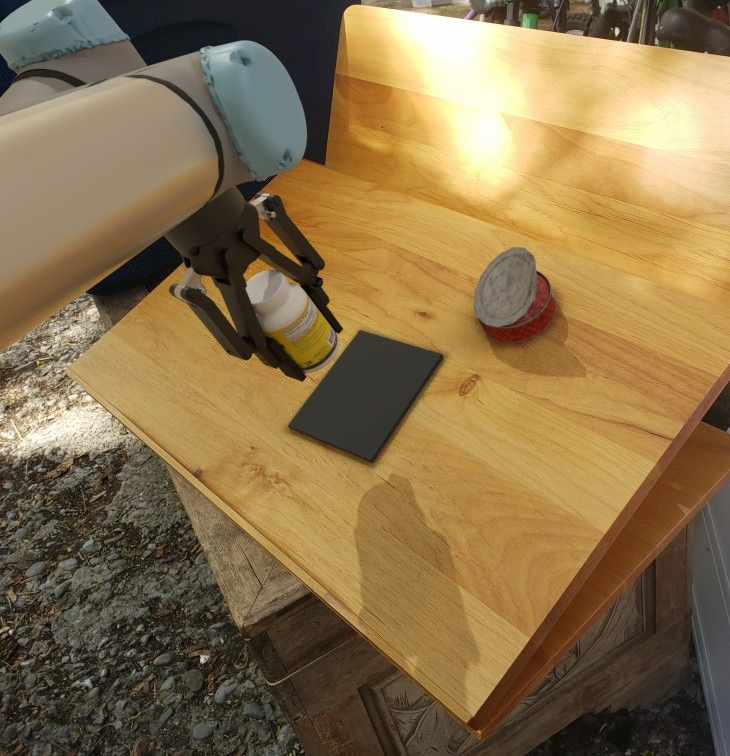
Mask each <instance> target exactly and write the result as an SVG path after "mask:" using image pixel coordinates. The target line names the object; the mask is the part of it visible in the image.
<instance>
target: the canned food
mask: <svg viewBox="0 0 730 756" xmlns="http://www.w3.org/2000/svg"><path fill="white" fill-rule="evenodd" d="M473 311H474V314H475V316H476V317H477V320H478V322H479V324H480V326H481V329H482V331H483V332H484V334H485V335H486V336H487V337H489V338H490V339H491V340H493V341H496V342H498V343H502V344H517V343H522V342H526V341H528V340H531V339H533V338H535V337H537V336H538V335H540V334H542V333H543V332H544V331H545V330H546V329H547V328H548V327H549V326H550V325H551V323H552V321H553V320H554V318H555V315H556V312H557V301H556V297H555V296H554V293H553V290H552V285H551V283H550V280H549V278H548V277H547V276H546V275H545V274H543V272H540V271H538V270H537V260H536V259H535V256H534V254H533V253H531V252H530V251H529V249H527V248H526V247H520V246H512V247H511V248H509V249H506V250H504V251H502V252H500V253H499V254H498V255H497V256H496V257H495V258H494V259H493V260H491V261H490V262H489V263H488V265H487V266H486V268H485V269H484V271H483V272H482V273H481V274H480V276H479V279H478V282H477V284H476V287H475V290H474V300H473Z"/></svg>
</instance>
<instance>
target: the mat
mask: <svg viewBox="0 0 730 756" xmlns="http://www.w3.org/2000/svg"><path fill="white" fill-rule="evenodd" d="M443 359H444V355H443V353H440V352H437V351H434V350H430V349H426V348H423V347H419V346H416V345H413V344H411V343H410V344H409V343H405V342H402V341H399V340H395V339H392V338H390V337H389V338H388V337H385V336H382V335H379V334H375V333H372V332H368V331H365V330H361V329H359V330H358V331H357V333H356V334H355V335H354V337H353V338H352V339H351V341H350V342H349V343H348V344H347V346H346V347H345V349H344V350H343V351H342V353H340V355H339V356H338V358H337V359H336V361H335V362H334V363H333V365H332V366H331V368H329V370H328V371H327V373H326V374H325V375H324V376H323V378H322V379H321V380H320V382H319V384H317V386H316V387H315V388H314V389H313V392H312V393H311V394H310V395H309V397H307V399H306V401H304V403H303V404H302V406H301V407H300V409H299V410H298V411H297V413H296V414H295V415H294V416H293V418H292V419H291V420H290V421H289V423H288V424H287V427H288V428H289V429H290V430H292V431H296V432H298V433H299V434H302V435H305V436H308V437H310V438H312V439H315V440H317V441H319V442H322V443H324V444H326V445H329V446H331V447H333V448H336V449H338V450H341V451H343V452H344V453H345V452H346V453H348V454H351V455H353V456H354V457H358V458H360V459H362V460H364V461H367V462H369V463H374V462H375V460H376V458H377V457H378V455H379V454H380V452H382V450H383V448H384V447H385V445H386V443H387V442H388V441H389V439H390V438H391V436H392V434H393V433H394V431H395V430H396V429H397V427H398V426H399V424H400V423H401V421H402V419H403V418H404V417H405V415H406V414H407V412H408V411H409V409H410V408H411V406H412V405H413V403H414V402H415V400H416V399H417V397H418V396H419V394H420V393H421V391H422V390H423V388H424V387H425V386H426V384H427V382H428V381H429V380H430V378H431V376H432V375H433V374H434V372H435V371H436V369H437V367H438V366H439V364H440V363H441V361H442V360H443Z"/></svg>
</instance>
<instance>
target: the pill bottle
mask: <svg viewBox="0 0 730 756" xmlns="http://www.w3.org/2000/svg"><path fill="white" fill-rule="evenodd" d="M246 283H247V287H246V291H247V293H248V296H249V298H250V301H251V303H252V306H253V308H254V311H255V314H256V316H257V319H258V321H259V324H260V326H261V329H262V331H263V334H264V336H266V337H269V338H272V339H275V340H276V341H277V343H278V344H279V345H280V346H281V347H282V348H283V350H284V351H285V352H286V353H287V354H288V355H289V357H290V358H291V359H292V360H293V361H294V362H295V363H296V365H297V366H298V367H299V368H300V369H301V370H302V372H303V373H304V374H305V375H307V374H312V373H316V372H318V371H320V370H322V369H324V368H326V367H327V366H328V365H329V364H331V362H333V361H334V360H335V358H336V357H337V355H338V353H339V350H340V344H341V343H340V338H339V336H338V333H335V331H334V330H333V328H332V327H331V326H330V324H329V323H328V322H327V320H326V319H325V318H324V316H323V315H322V314H321V312H320V311H319V310H318V308H317V307H316V306H315V304H314V303H313V302H312V300H311V299H310V298H309V296H308V295H307V294H306V292H305V291H304V290H303V289H302V288H301V287H300V285H299V284H297V283H295V282H294V283H293V282H289V281H288V279H287V278H286V277H285V275H283V274H282V273H281V272H279V271H277V270H275V269H266V270H263V271H260V272H258V273H256V274H255V275H252V276H251V277H250V278H249V279H248V280H246ZM298 285H299V286H298Z"/></svg>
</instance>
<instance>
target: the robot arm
mask: <svg viewBox="0 0 730 756" xmlns="http://www.w3.org/2000/svg"><path fill="white" fill-rule="evenodd" d="M0 55H1V56H2V57H3V59H4V60H5V61H6V63H7V67H8V68H9V69H10V70H11V71H12V72H15V73H16V74H17V75H16V76H15V77H14V78H13V80H12V81H11V84H10V86H9V88H7V90H5V92H4V93H3V94H2V95H1V97H0V355H1V354H2V353H3V352H5V351H6V350H8V349H9V348H11V347H12V346H13V345H15V344H16V343H17V342H19V341H20V340H21V339H23V338H24V337H26V336H27V335H29V334H30V333H31V332H33V331H34V330H35V329H37V328H38V327H39V326H41V325H42V324H43V323H45V322H46V321H47V320H49V319H50V318H52V317H53V316H54V315H56V314H57V313H58V312H60V311H62V310H63V309H64V308H65V307H67V306H68V305H70V304H71V303H72V302H73V301H75V300H77V299H78V298H80V297H81V296H82V295H83V294H85V293H86V292H88V290H90V289H92V288H93V287H94V286H96V285H97V284H98V283H100V282H101V281H102V280H104V279H105V278H108V277H109V275H111V274H113V273H114V272H115V271H116V270H118V269H119V268H121V267H122V266H123V265H125V264H126V263H128V261H130V260H131V259H133V258H134V257H135V256H137V255H139V254H140V253H141V252H142V251H144V250H145V249H147V248H148V247H150V245H152V244H154V243H155V242H156V241H158V240H159V239H161V238H162V237H164V238H165V239H166V240H167V241H168V242H169V243H170V245H172V246H173V247H174V248H175V250H177V252H179V254H180V256H181V258H182V261H183V265H184V267H185V269H186V270H185V272H184V274H183V276H182V277H181V279H180V281H179V282H178V283H177V282H174V283H171V285H170V286H169V288H168V292H169V294H170V296H172V297H174V298H175V299H177V300H178V301H181V302H183V303H184V304H185V305H187V306H188V308H190V310H191V311H192V312H193V314H195V316H196V317H197V318H198V320H199V321H200V322H201V323H202V325H204V327H205V328H206V329H207V330H208V332H209V333H210V334H211V336H212V337H213V338H214V339H215V340H216V342H217V343H218V344H219V345H220V347H221V348H222V349H223V350H224V351H225V352H226V354H228V355H229V356H231V357H234V358H237V359H239V360H243V361H250V360H251V359H252V357H253V355H254V356H256V358H257V359H258V360H259V361H260V362H261V363H262V364H263V365H264V366H267V367H269V368H271V369H276V370H277V369H279V370H280V371H281V373H283V375H284V376H285V377H287V378H289V379H293V380H296V381H299V382H301V383H304V381H305V380H306V378H307V377H308V375H307V374H304V373H303V372H302V370H301V369H300V368H299V367H298V366H297V365H296V363H295V362H294V361H293V360H292V359H291V358H290V357H289V355H288V354H287V353H286V352H285V351H284V350H283V348H282V347H281V346H280V345H279V344H278V343H277V341H276V340H275V339H272V338H269V337H266V336H264V334H263V331H262V329H261V326H260V324H259V321H258V319H257V316H256V314H255V311H254V308H253V306H252V303H251V301H250V298H249V296H248V293H247V291H246V287H247V283H246V282H247V280H246V279H245V276H244V275H245V273H246V272H247V270H248V269H249V267H250V265H252V264H253V263H254V262H256V261H257V260H259V261H261V262H263V263H265V264H266V265H267V266H268V267H271V268H273V270H277V271H279V272H281V273H282V274H283V276H284V277H285V276H286V277H287V278H288V279H290V280H292V281H293V282H294V283H295V284H297V285H298V286H300V287H301V288H302V289H303V290H304V291H305V292H306V294H307V295H308V296H309V298H310V299H311V300H312V302H313V303H314V304H315V306H316V307H317V308H318V310H319V311H320V312H321V314H322V315H323V316H324V318H325V319H326V320H327V322H328V323H329V324H330V326H331V327H332V328H333V330H334V331H335V333H336V334H337V335H340V334H341V333H342V331H343V330H344V328H343V326H342V325H341V323H340V322H339V321H338V319H337V318H336V316H335V315H334V314H333V312H332V311H331V309H330V308H329V307H328V305H329V303H330V302H331V300H330V297H329V295H328V294H327V293H326V291H325V289H323V285H324V279H323V277H321V276H318V275H319V273H320V271H323V270H324V269H325V266H326V262H325V260H324V258H322V256H321V255H320V253H319V252H318V251H317V250H316V249H315V247H314V246H313V245H312V244H311V243H310V240H308V239H307V237H306V236H305V235H304V233H302V232H301V230H300V229H299V228H298V227H297V225H296V224H295V222H293V220H292V219H291V218H290V216H289V215H288V214H287V211H286V208H285V206H284V203H283V200H282V198H281V196H280V195H279V194H273V193H268V192H262V191H258V192H256V193H255V195H254V200H252V201H250V202H248V201H246V200H245V199H244V196H243V194H242V192H241V191H240V190H239V188H238V187H237V186H238V185H241V184H245V183H247V182H253V181H257V182H259V183H260V182H264V181H266V180H267V179H268V178H269V177H272V176H276V175H278V174H282V173H285V172H288V171H291V170H293V169H294V168H295V167H297V166H298V165H299V164H300V162H301V161H302V159H303V157H304V156H305V155H304V154H305V152H306V148H307V143H308V142H307V141H308V129H307V127H308V126H307V123H306V122H307V121H306V120H307V119H306V116H305V111H304V107H303V104H302V101H301V100H300V97H299V94H298V91H297V88H296V86H295V84H294V82H293V80H292V78H291V76H290V74H289V72H288V70H287V69H286V67H285V66H284V65H283V63H282V62H281V60H280V59H278V58H277V56H276V55H275V54H274V53H273V52H272V51H271V50H269V49H268V48H267V47H266V46H264V45H262V44H259V43H258V42H256V41H252V40H238V41H233V42H229V43H225V44H221V45H220V44H219V45H216V46H212V45H208V46H204V47H201V48H200V49H199V50H197V51H195V52H194V51H193V52H191V53H188V54H184V55H181V56H178V57H174V58H170V59H167V60H164V61H161V62H157V63H154V64H151V65H147V63H146V62H145V60H144V59H143V58H142V56H141V55H140V53H139V52H138V51H137V49H136V48H135V46H134V45H133V43H132V41H131V38H130V36H129V35H128V34H127V33H125V32H124V31H123V30H122V29H121V27H119V25H118V24H117V22H116V21H115V20H114V19H113V18H112V16H111V15H110V14H109V13H108V12H107V10H106V9H105V8H104V7H103V6H102V5H101V3H100V2H99V1H98V0H30V1H28V2H27V3H25V4H23V5H22V6H20V7H19V8H17V9H16V10H14V11H13V12H11V13H9V15H7V16H6V17H5V18H4V19H3V20H1V22H0ZM260 219H261V220H263V221H264V223H265V224H266V225H267V227H269V228H270V230H271V231H272V232H273V233H274V235H276V237H277V238H278V239H279V240H280V242H281V243H282V244H283V245H284V247H285V248H286V249H287V250H288V251H289V252H290V253H291V254H292V256H293V257H294V258H295V259H296V260H297V262H298V263H297V262H296V261H294V260H293V259H291V258H290V257H289V256H287V255H285V254H284V253H283V252H281V251H279V250H278V249H277V247H276V246H274V245H273V244H271V243H270V242H269V241H267V240H266V239H264V238H262V237H261V227H260ZM203 276H204V277H210V278H211V281H212V282H213V285H214V286H215V287H216V288H217V289H218V290H219V293H220V294H221V297H222V300H223V301H224V305H225V306H226V308H227V311H228V313H229V316H230V318H231V321H232V323H233V324H231V322H230V321H229V320H228V318H227V317H226V315H225V314H224V313H223V312H222V310H221V309H220V308H219V307H218V305H217V304H216V302H214V301H213V300H212V299H211V297H209V296H207V294H208V290H207V288H206V286H205V285H204V284H203V282H202V277H203ZM233 325H234V326H233Z"/></svg>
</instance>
